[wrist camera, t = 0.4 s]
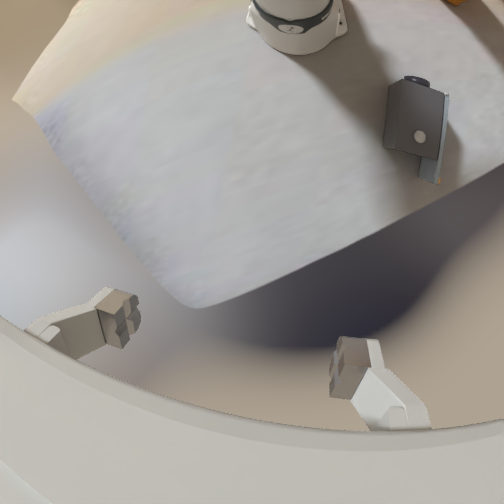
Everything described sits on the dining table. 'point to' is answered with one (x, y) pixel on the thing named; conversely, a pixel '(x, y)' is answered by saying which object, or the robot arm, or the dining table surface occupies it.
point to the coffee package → (456, 2)
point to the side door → (431, 166)
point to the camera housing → (414, 117)
